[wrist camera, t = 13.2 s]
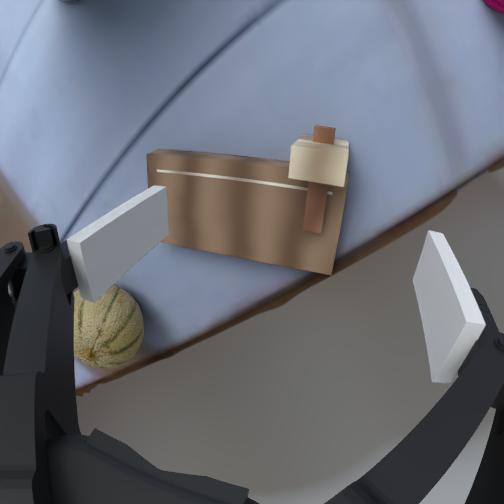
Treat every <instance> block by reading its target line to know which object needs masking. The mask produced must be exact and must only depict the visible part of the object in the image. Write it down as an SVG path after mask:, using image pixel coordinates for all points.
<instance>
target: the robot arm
mask: <svg viewBox="0 0 504 504" xmlns="http://www.w3.org/2000/svg"><path fill="white" fill-rule="evenodd" d="M61 1H70V2H72V1H78V0H61ZM167 235H169V227H168V211H167V192H166V187H165V186H156V185H154V186H152V187H150V188H148V189H147V190H145V191H143V192H141V193H140V194H138V195H136V196H135V197H133V198H131V199H130V200H128V201H126V202H125V203H123V204H121V205H120V206H118V207H116V208H115V209H113V210H112V211H110V212H108V213H107V214H105V215H104V216H102V217H100V218H99V219H97V220H96V221H94V222H93V223H91V224H89V225H88V226H86V227H85V228H83V229H82V230H80V231H79V232H77V233H76V234H74V235H73V236H71V237H70V238H68V239H67V240H65V241H64V242H62V243H61V244H60V241H59V237H58V232H57V227H56V225H54V224H44V225H40V226H37V227H35V228H33V229H32V230H31V231H30V232H29V233H28V236H29V240H30V244H31V247H32V251H33V252H32V253H26V252H25V250H24V247H23V243H21V242H10V243H8V244H6V245H5V246H3V247H2V248H1V249H0V504H259V503H257V502H256V501H254V500H252V499H250V498H248V492H249V489H247V488H244V487H239V486H236V485H233V484H229V483H226V482H222V481H219V480H216V479H213V478H210V477H207V476H197V475H189V474H182V473H175V472H168V471H162V470H160V469H158V468H156V467H155V466H154V465H152V464H151V463H150V462H148V461H147V460H146V459H144V458H143V457H142V456H141V455H139V454H138V453H137V452H135V451H134V450H133V449H132V448H130V447H129V446H128V445H127V444H125V443H122V442H121V441H119V440H117V439H114V438H113V437H111V436H109V435H107V434H105V433H103V432H101V431H99V430H97V429H94V430H93V432H92V433H91V435H90V436H85V435H81V432H80V429H79V425H78V416H77V405H76V391H75V373H74V302H75V298H74V294H73V290H74V289H75V288H77V287H78V288H79V292H80V295H81V298H83V299H85V300H88V301H91V302H93V303H95V302H96V301H97V300H98V299H99V298H100V297H101V296H102V295H103V294H104V293H105V292H106V291H107V290H108V289H109V288H110V287H111V286H112V285H113V284H114V283H116V282H117V281H118V280H119V279H120V278H121V277H122V276H123V275H124V274H125V273H126V272H127V271H128V270H129V269H131V268H132V267H133V266H134V265H135V264H136V263H137V262H138V261H139V260H140V259H142V258H143V257H144V256H145V255H146V254H147V253H148V252H149V251H150V250H152V249H153V248H154V247H155V246H156V245H157V244H158V243H159V242H161V241H162V240H163V239H164V238H165V237H166V236H167ZM413 283H414V288H415V292H416V296H417V301H418V305H419V310H420V315H421V319H422V324H423V330H424V335H425V340H426V346H427V352H428V358H429V364H430V371H431V379H432V382H437V383H448V384H450V383H451V381H452V380H453V379H454V377H455V375H456V374H457V372H458V376H459V377H458V378H457V380H456V381H455V382H454V383H453V385H452V386H451V387H450V388H449V389H448V391H447V392H446V393H445V394H444V395H443V397H442V398H441V399H440V400H439V402H438V403H437V404H436V405H435V406H434V407H433V408H432V409H431V410H430V412H429V413H428V414H427V415H426V416H425V417H424V418H423V419H422V420H421V421H420V422H419V424H418V425H417V426H416V427H415V428H414V429H413V430H412V431H411V432H410V433H409V434H408V435H407V436H406V437H405V438H404V439H403V440H402V441H401V442H400V443H399V444H398V445H397V446H396V447H395V448H394V449H393V450H392V451H391V452H389V453H388V454H387V455H386V456H385V457H384V458H383V459H382V460H381V461H380V462H379V463H377V464H376V465H375V466H374V467H373V468H372V469H371V470H370V471H368V472H367V473H366V474H365V475H364V476H362V477H361V478H360V479H358V480H357V481H355V482H353V483H352V484H350V485H349V486H347V487H346V488H345V489H343V490H342V491H341V492H339V493H338V494H337V495H335V496H334V497H333V498H331V499H330V500H329V501H328V502H326V503H324V504H419V503H420V502H421V501H422V500H423V498H424V497H425V496H426V495H427V494H428V493H429V492H430V491H431V489H432V488H433V487H434V486H435V485H436V483H437V482H438V481H439V480H440V479H441V477H442V476H443V475H444V474H445V472H446V471H447V470H448V468H449V467H450V466H451V464H452V463H453V462H454V461H455V459H456V458H457V457H458V455H459V454H460V452H461V451H462V450H463V448H464V447H465V446H466V444H467V442H468V441H469V440H470V438H471V437H472V435H473V434H474V432H475V431H476V429H477V428H478V426H479V425H480V423H481V421H482V420H483V418H484V417H485V415H486V413H487V411H488V410H489V408H490V407H492V408H495V409H496V412H495V416H494V420H493V424H492V428H491V431H490V435H489V438H488V442H487V445H486V448H485V451H484V455H483V458H482V461H481V464H480V466H479V469H478V472H477V475H476V477H475V480H474V483H473V485H472V488H471V490H470V493H469V495H468V497H467V500H466V502H465V504H504V334H503V333H500V332H499V331H498V328H497V326H496V324H495V321H494V319H493V316H492V314H490V310H489V308H488V307H487V303H486V301H485V299H484V297H483V296H482V295H481V294H480V293H479V292H478V290H477V289H474V288H470V287H469V285H468V282H467V280H466V278H465V276H464V274H463V272H462V270H461V268H460V266H459V264H458V262H457V260H456V258H455V256H454V254H453V252H452V250H451V248H450V246H449V244H448V243H447V241H446V239H445V237H444V235H443V234H442V233H439V232H434V231H430V230H428V233H427V237H426V240H425V244H424V247H423V250H422V253H421V256H420V259H419V262H418V265H417V269H416V272H415V274H414V277H413ZM8 285H9V287H10V290H11V294H10V295H9V292H8Z"/></svg>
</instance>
